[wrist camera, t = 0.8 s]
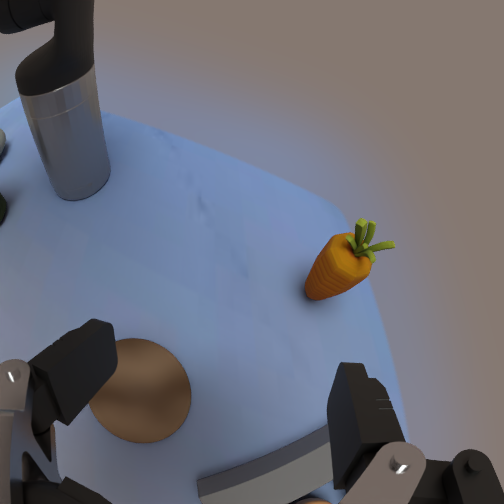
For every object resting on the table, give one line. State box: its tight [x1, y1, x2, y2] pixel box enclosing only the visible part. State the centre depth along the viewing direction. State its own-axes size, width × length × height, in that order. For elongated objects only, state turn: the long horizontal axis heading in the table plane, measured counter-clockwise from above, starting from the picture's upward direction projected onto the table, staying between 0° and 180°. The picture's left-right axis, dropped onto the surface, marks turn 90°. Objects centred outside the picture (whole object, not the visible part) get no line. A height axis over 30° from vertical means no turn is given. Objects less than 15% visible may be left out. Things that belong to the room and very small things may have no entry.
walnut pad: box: [88, 338, 191, 443], centre depth 25 cm, size 11×11×1 cm
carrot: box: [305, 218, 395, 300], centre depth 28 cm, size 5×5×15 cm
